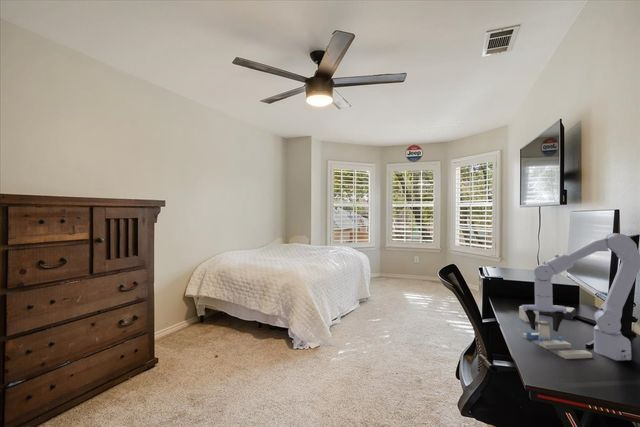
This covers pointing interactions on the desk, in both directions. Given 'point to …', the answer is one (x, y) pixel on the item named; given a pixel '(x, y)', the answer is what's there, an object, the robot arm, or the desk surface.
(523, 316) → the cream white cube
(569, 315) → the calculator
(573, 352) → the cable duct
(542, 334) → the cream round-ended cylinder
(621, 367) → the desk surface
